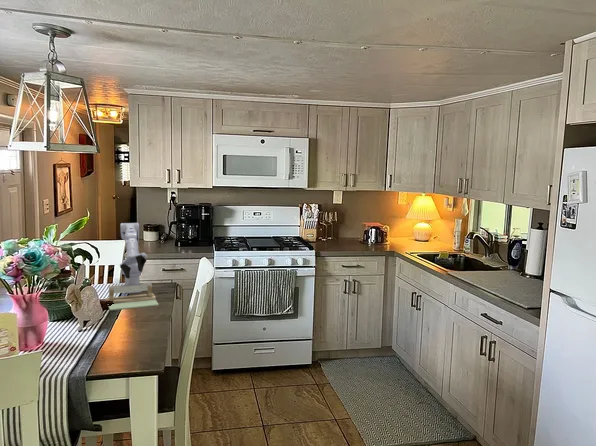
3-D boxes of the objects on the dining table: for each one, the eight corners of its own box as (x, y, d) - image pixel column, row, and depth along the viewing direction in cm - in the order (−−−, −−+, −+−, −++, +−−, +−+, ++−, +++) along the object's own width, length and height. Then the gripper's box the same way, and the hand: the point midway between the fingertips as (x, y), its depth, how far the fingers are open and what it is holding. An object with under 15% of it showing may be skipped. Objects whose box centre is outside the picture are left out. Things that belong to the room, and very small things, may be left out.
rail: (109, 293, 231) (109, 287, 231) (108, 292, 234) (108, 286, 234) (151, 289, 240) (151, 284, 240) (150, 288, 243) (150, 282, 243)
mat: (108, 305, 228) (108, 304, 228) (155, 300, 237) (155, 299, 237) (109, 310, 221) (109, 309, 220) (158, 305, 230) (158, 304, 230)
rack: (105, 300, 236) (104, 287, 235) (153, 295, 246) (153, 283, 245) (106, 304, 230) (106, 291, 229) (155, 299, 240) (155, 286, 239)
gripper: (115, 254, 239) (116, 277, 231) (139, 242, 237) (140, 264, 229) (124, 260, 245) (125, 282, 237) (148, 248, 242) (150, 270, 234)
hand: (133, 274), depth 233 cm, fingers open, 7 cm apart
